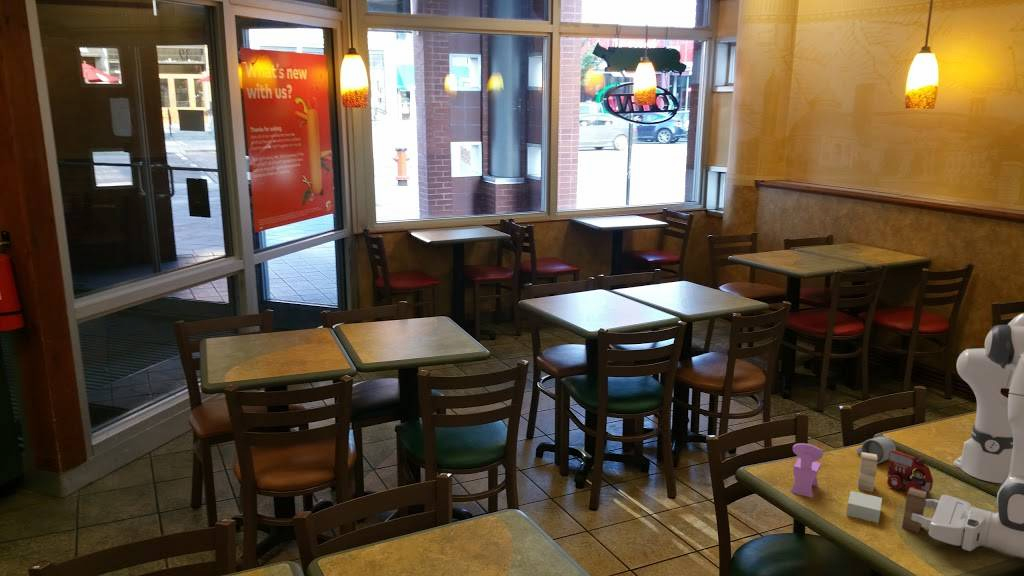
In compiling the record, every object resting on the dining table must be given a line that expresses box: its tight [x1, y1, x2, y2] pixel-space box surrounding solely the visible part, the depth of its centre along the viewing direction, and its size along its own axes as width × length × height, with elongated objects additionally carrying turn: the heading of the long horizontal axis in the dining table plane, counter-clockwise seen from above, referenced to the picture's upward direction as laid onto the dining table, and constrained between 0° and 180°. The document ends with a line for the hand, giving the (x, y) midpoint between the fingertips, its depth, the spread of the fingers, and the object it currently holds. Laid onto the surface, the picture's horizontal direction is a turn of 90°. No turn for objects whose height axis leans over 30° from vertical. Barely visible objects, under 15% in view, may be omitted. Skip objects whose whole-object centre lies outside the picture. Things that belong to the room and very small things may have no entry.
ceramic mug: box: [856, 436, 897, 465], centre depth 245 cm, size 11×8×8 cm
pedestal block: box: [846, 490, 883, 524], centre depth 211 cm, size 8×8×4 cm
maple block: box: [857, 452, 878, 493], centre depth 225 cm, size 4×4×10 cm
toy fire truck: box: [886, 450, 934, 494], centre depth 225 cm, size 7×12×10 cm, turn 44°
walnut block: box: [901, 488, 928, 533], centre depth 204 cm, size 4×4×10 cm
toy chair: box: [789, 442, 824, 499], centre depth 223 cm, size 8×9×15 cm
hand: (915, 508), depth 204 cm, fingers open, 8 cm apart
